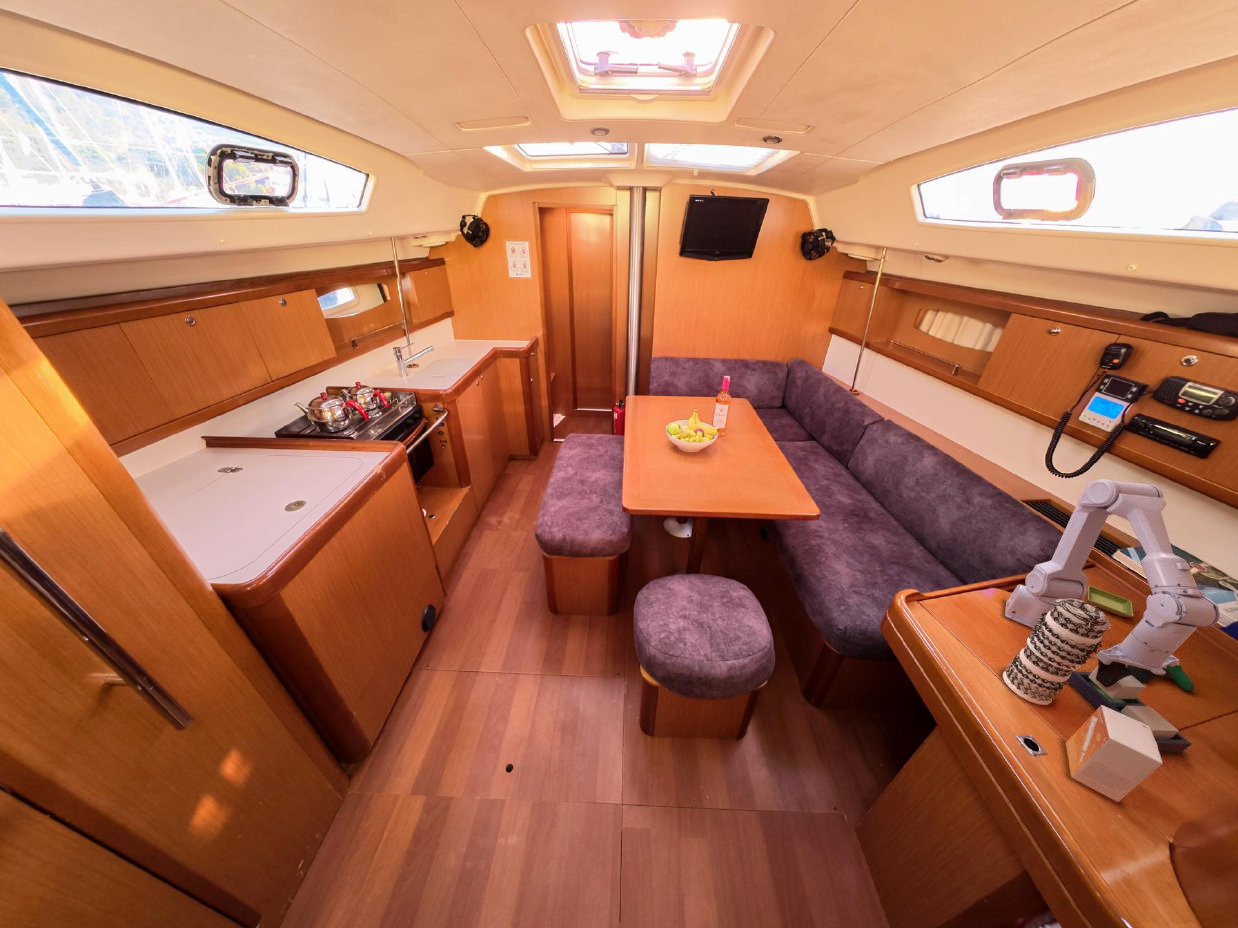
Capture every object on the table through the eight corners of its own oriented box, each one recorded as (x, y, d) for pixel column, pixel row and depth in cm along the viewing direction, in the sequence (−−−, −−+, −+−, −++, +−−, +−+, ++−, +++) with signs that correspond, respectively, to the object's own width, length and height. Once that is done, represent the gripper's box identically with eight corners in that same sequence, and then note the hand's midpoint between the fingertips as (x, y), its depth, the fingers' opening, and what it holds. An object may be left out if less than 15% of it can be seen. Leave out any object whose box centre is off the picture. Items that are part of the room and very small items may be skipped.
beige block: (1142, 741, 81) (1154, 730, 79) (1115, 716, 85) (1126, 705, 83) (1166, 742, 81) (1179, 730, 79) (1138, 717, 85) (1150, 706, 83)
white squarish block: (1111, 698, 86) (1122, 686, 84) (1088, 676, 90) (1097, 665, 89) (1135, 698, 86) (1146, 687, 84) (1109, 677, 90) (1120, 665, 89)
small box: (1063, 742, 81) (1100, 703, 75) (1109, 765, 77) (1151, 726, 71) (1069, 777, 75) (1109, 737, 69) (1119, 803, 72) (1165, 764, 66)
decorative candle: (1031, 709, 87) (1096, 629, 76) (990, 671, 95) (1043, 593, 84) (1065, 703, 88) (1134, 624, 77) (1022, 666, 96) (1078, 589, 85)
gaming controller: (1179, 689, 94) (1175, 662, 96) (1197, 692, 90) (1192, 664, 92) (1128, 677, 96) (1125, 650, 98) (1144, 679, 93) (1140, 652, 95)
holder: (1141, 751, 80) (1151, 742, 78) (1065, 679, 93) (1072, 671, 92) (1182, 752, 80) (1192, 743, 78) (1100, 680, 93) (1107, 672, 92)
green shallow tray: (1083, 604, 115) (1087, 598, 114) (1084, 589, 121) (1088, 584, 120) (1129, 622, 110) (1133, 616, 109) (1127, 606, 115) (1131, 600, 114)
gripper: (1139, 656, 78) (1100, 700, 84) (1213, 659, 78) (1169, 702, 84) (1101, 627, 84) (1067, 669, 90) (1169, 629, 84) (1131, 671, 90)
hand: (1114, 683), depth 88 cm, fingers closed on white squarish block, 5 cm apart
